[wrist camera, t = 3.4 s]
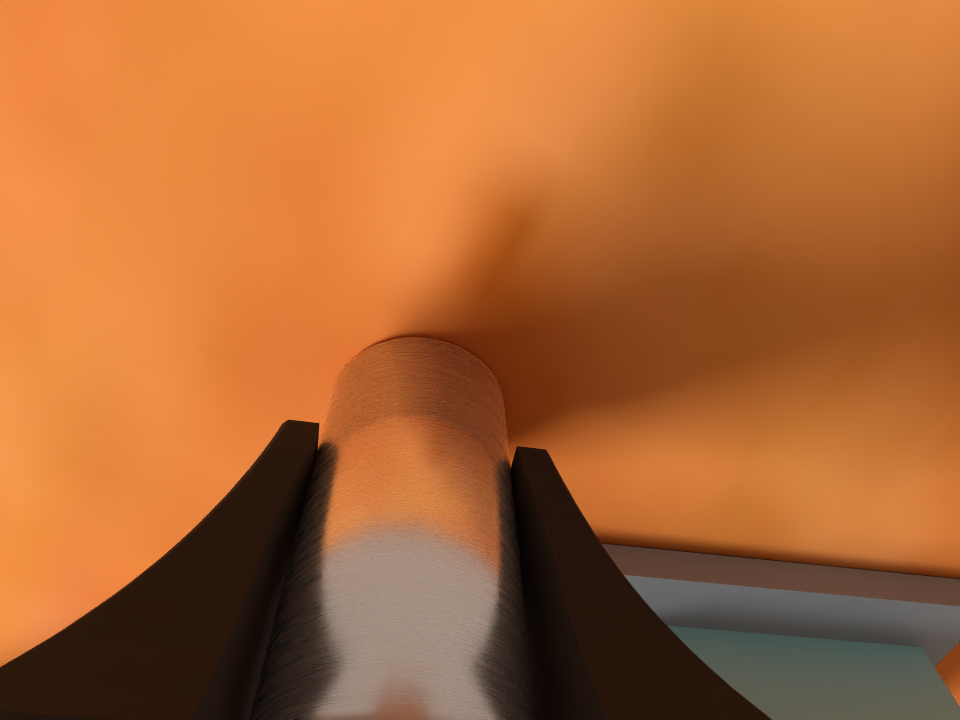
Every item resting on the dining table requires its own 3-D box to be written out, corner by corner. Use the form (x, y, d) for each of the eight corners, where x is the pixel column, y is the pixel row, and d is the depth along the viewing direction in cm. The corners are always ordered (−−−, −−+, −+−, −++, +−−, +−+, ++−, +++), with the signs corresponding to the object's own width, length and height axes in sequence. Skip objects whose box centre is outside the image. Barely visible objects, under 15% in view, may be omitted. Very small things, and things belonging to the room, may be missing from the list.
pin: (326, 463, 16) (238, 842, 10) (336, 325, 14) (231, 694, 7) (487, 481, 17) (508, 852, 10) (520, 349, 15) (575, 715, 8)
